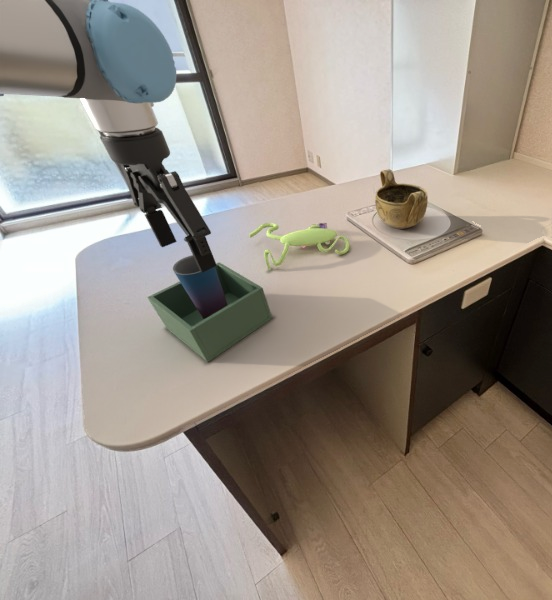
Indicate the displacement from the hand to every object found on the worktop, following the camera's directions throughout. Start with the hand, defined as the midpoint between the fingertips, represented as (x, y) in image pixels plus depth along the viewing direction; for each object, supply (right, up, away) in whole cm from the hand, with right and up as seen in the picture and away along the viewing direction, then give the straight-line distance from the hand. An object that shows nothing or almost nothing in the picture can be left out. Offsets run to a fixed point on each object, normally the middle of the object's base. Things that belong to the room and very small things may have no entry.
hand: (187, 255), depth 60 cm
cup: (0, -13, +11) cm, 17 cm away
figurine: (+10, +7, +36) cm, 38 cm away
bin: (0, -13, +12) cm, 18 cm away
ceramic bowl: (+40, +17, +50) cm, 66 cm away
